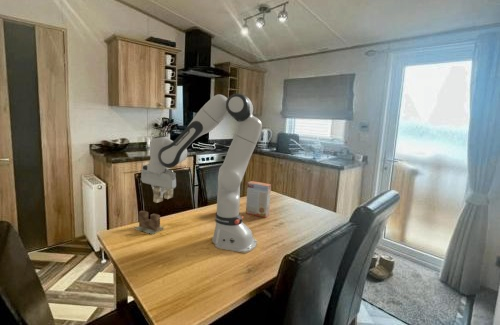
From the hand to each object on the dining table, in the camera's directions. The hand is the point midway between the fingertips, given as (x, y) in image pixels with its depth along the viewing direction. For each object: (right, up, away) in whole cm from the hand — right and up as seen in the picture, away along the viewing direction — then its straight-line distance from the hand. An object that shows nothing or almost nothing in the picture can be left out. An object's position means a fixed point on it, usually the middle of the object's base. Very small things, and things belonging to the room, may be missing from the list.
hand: (158, 194), depth 138 cm
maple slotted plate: (+1, -3, +4) cm, 6 cm away
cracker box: (+52, -17, +35) cm, 65 cm away
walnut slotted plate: (-6, -19, +4) cm, 21 cm away
